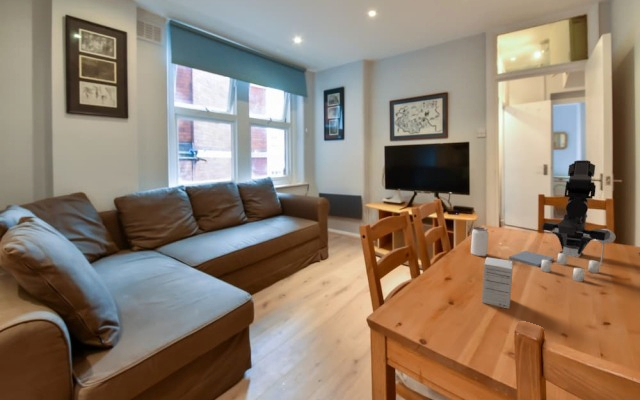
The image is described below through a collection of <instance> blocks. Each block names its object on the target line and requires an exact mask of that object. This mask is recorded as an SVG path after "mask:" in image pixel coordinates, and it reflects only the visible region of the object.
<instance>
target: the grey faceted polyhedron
mask: <svg viewBox="0 0 640 400" xmlns="http://www.w3.org/2000/svg"><path fill="white" fill-rule="evenodd" d="M562 251H563V254H564V255H567V257H572V258H573V257H574V258H579V257H581V255H580V254H578V253H579V247H576V246H568V245H566V246H563V250H562Z"/></svg>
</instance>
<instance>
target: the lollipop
mask: <svg viewBox="0 0 640 400" xmlns="http://www.w3.org/2000/svg"><path fill="white" fill-rule="evenodd" d="M601 230H608V231H609V232H610V238H609V239H607V240H597V239H595V240H596V241H597V242H598V243H600V244H602V247H601V255H600V261H599V262H600V266H602V265H603V258H604V250H605V245H606V244H607V245H609V244H611V243H613V242H614V241H615V240H616V234H615V233H614V232H613V231H612V230H611V229H608V228H602V229H601Z"/></svg>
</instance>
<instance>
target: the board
mask: <svg viewBox="0 0 640 400" xmlns="http://www.w3.org/2000/svg"><path fill="white" fill-rule="evenodd" d="M508 259H509V260H510V261H515V262H519V263H523V264H526V265H529V266H533V267H541V263H542V260H550V261H551V262H552V261H553V262H554V260H555V258H554V257H553V256H552V257H551V256H549V255H543V254H539V253H535V252H531V251H527V250H524V251H522V252H519V253H516V254H513V255H511V256H508Z"/></svg>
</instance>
